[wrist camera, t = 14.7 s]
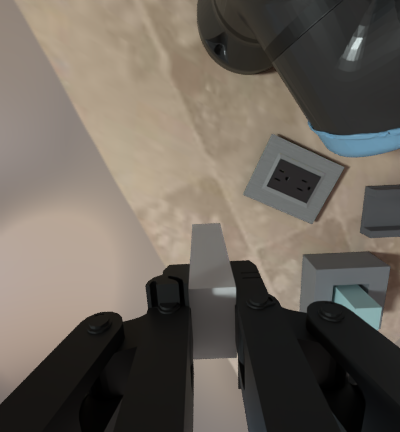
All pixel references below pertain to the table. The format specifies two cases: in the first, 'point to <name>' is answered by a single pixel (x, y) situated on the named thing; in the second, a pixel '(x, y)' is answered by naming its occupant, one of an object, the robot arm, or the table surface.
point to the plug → (358, 303)
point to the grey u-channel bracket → (381, 211)
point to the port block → (342, 276)
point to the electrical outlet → (292, 179)
